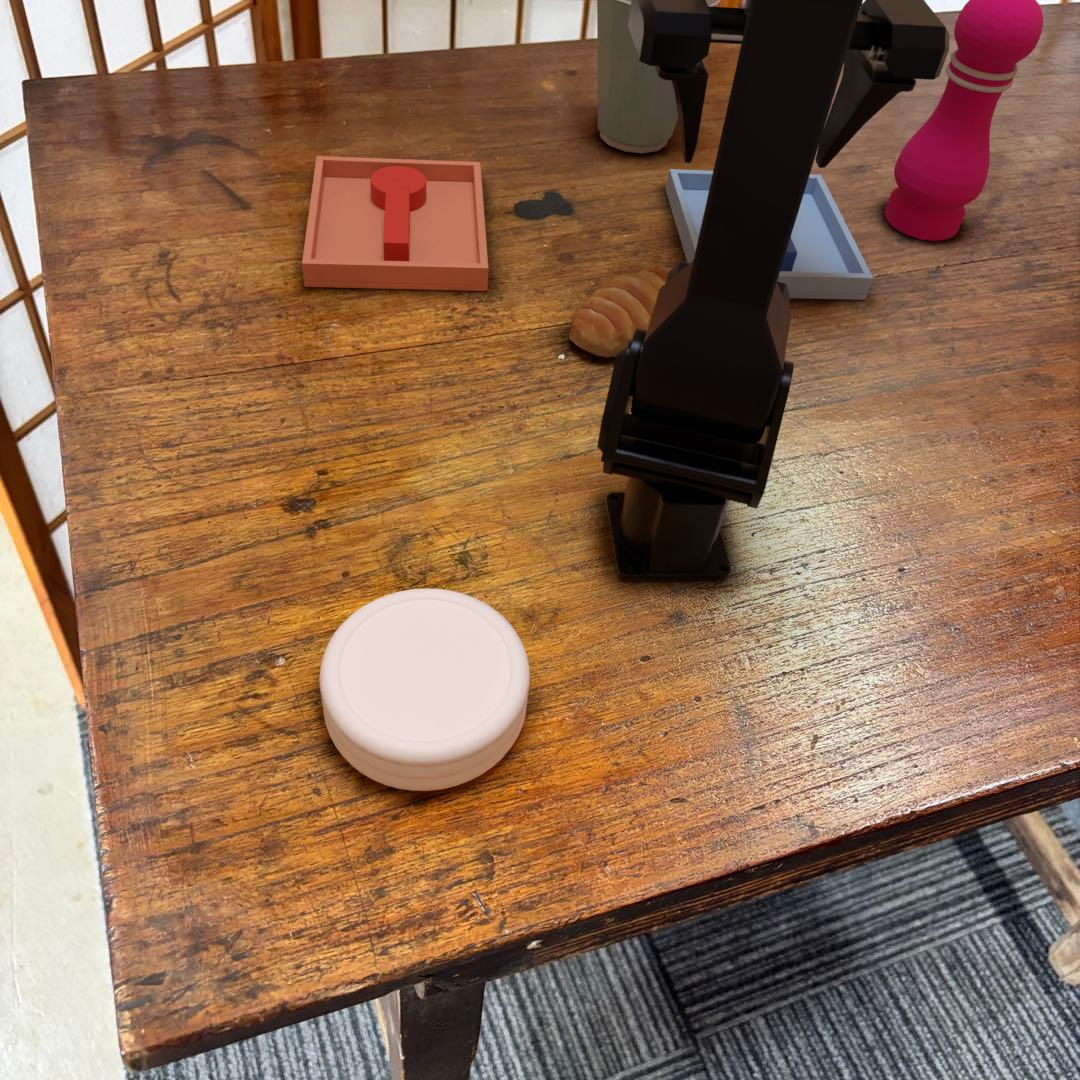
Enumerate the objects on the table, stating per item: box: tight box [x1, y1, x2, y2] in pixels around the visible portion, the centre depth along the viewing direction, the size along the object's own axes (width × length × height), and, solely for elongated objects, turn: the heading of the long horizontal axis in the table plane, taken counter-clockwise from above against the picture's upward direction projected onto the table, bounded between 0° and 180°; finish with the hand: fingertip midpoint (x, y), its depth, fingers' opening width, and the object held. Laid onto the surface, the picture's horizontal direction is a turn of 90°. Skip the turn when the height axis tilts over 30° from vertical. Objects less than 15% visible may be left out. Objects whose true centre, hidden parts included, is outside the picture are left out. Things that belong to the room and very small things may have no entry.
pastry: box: [568, 263, 673, 359], centre depth 71 cm, size 9×7×4 cm
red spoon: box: [370, 166, 427, 261], centre depth 78 cm, size 12×4×2 cm, turn 4°
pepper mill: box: [884, 0, 1044, 242], centre depth 79 cm, size 7×7×20 cm
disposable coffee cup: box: [596, 0, 721, 154], centre depth 87 cm, size 11×11×15 cm
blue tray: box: [665, 168, 874, 301], centre depth 81 cm, size 15×13×2 cm
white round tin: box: [318, 587, 531, 792], centre depth 50 cm, size 10×10×4 cm
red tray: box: [301, 155, 489, 292], centre depth 78 cm, size 15×13×2 cm
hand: (753, 162), depth 68 cm, fingers open, 9 cm apart
